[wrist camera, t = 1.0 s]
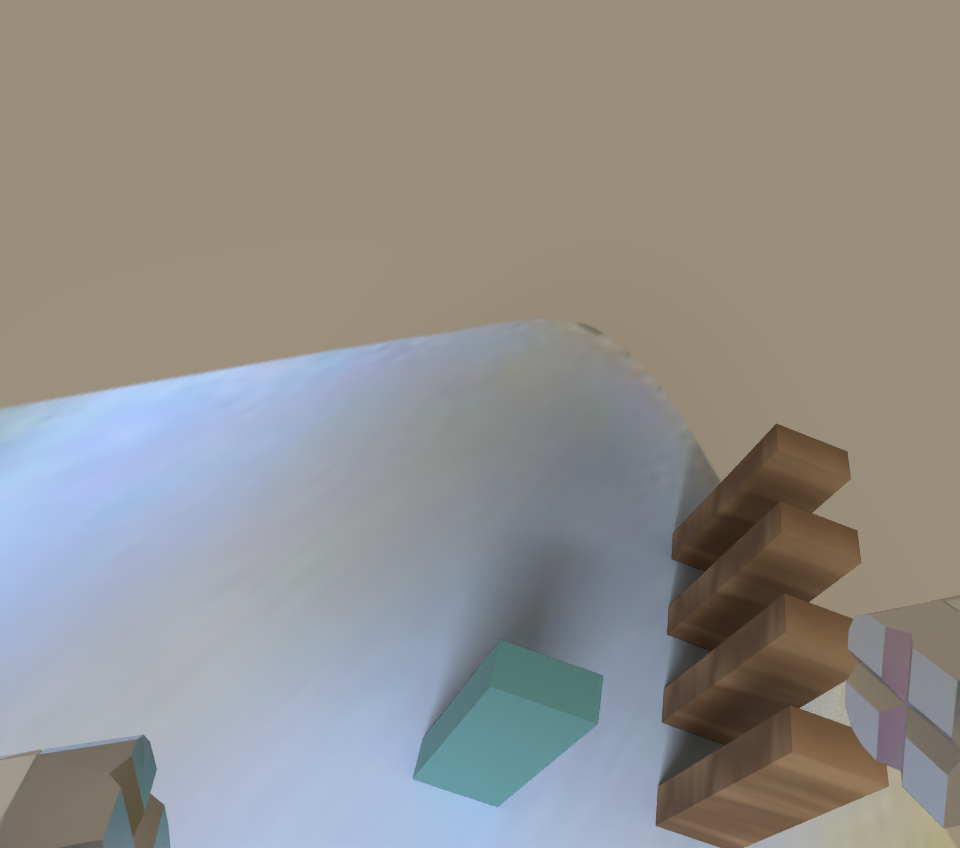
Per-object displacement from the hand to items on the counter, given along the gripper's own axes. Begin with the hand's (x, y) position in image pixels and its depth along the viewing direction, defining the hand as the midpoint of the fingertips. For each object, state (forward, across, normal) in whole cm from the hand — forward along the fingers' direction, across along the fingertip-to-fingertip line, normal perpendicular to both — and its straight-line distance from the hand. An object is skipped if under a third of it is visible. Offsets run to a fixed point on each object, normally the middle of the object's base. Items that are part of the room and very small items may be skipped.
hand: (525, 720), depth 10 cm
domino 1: (+27, -2, +22) cm, 35 cm away
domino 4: (+30, -16, +24) cm, 41 cm away
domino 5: (+26, -14, +26) cm, 39 cm away
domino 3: (+34, -18, +21) cm, 44 cm away
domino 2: (+39, -20, +18) cm, 47 cm away
